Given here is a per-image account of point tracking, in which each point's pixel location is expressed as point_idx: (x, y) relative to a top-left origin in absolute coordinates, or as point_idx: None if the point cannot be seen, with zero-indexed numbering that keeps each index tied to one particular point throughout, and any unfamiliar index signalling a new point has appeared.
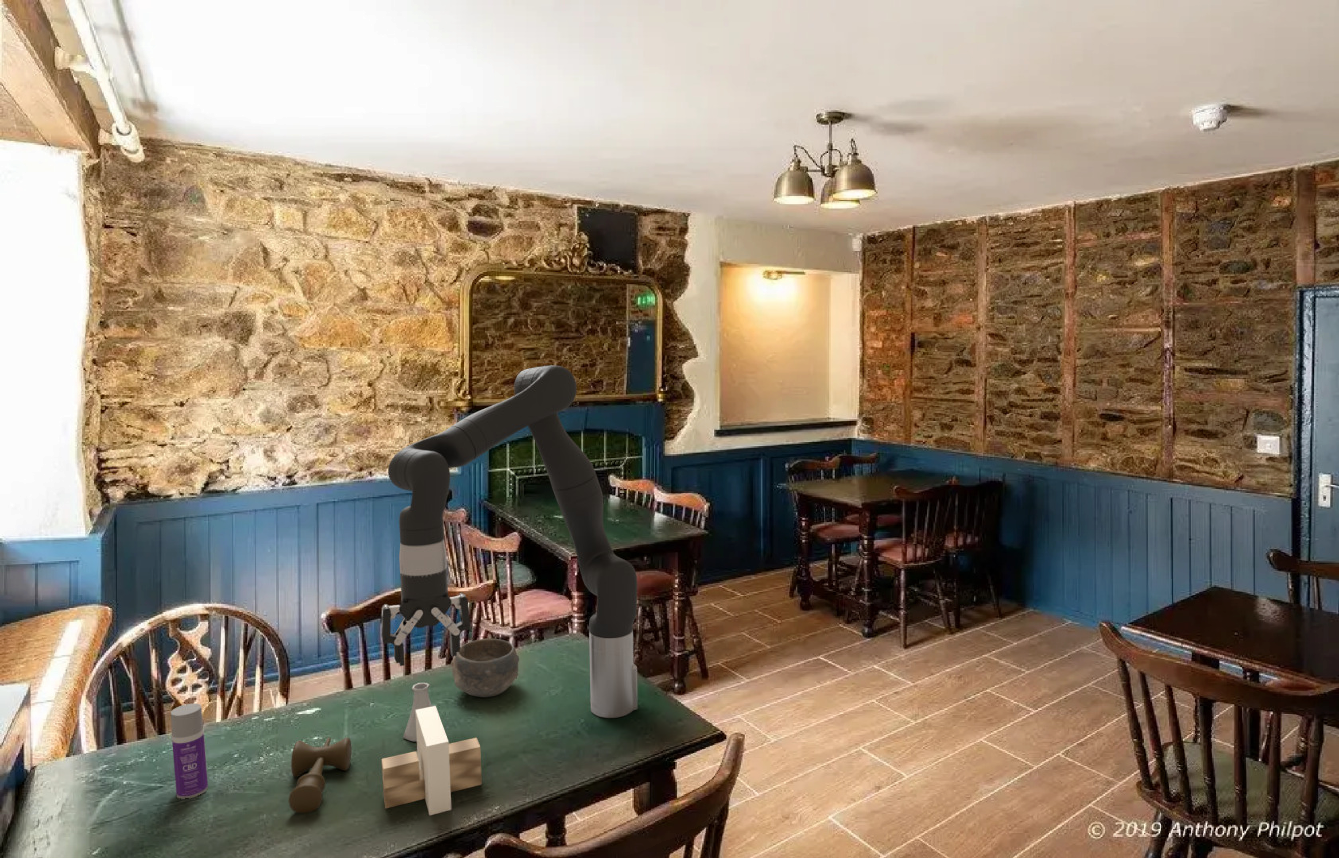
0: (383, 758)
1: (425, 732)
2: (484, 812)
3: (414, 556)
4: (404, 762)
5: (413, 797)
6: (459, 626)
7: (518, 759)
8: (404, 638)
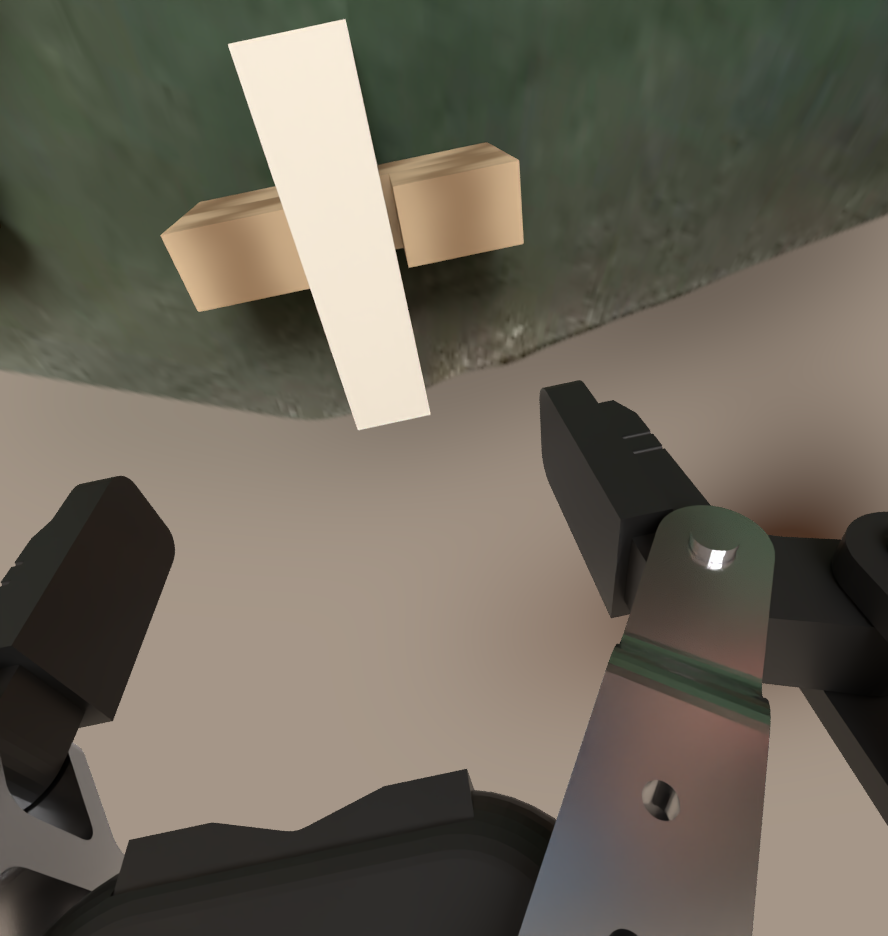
0: (167, 234)
1: (337, 333)
2: (486, 345)
3: None
4: (263, 286)
5: None
6: (765, 669)
7: (629, 73)
8: (99, 801)
